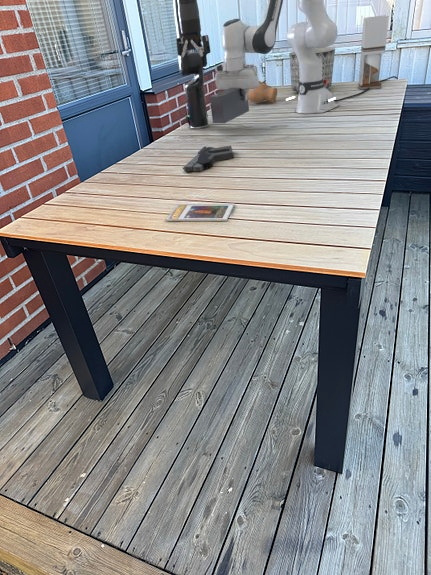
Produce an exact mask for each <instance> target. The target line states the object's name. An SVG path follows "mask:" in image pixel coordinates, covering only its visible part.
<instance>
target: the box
mask: <svg viewBox="0 0 431 575" xmlns="http://www.w3.org/2000/svg"><path fill="white" fill-rule="evenodd" d="M245 93H246V92H244V89H241V88H229V89H227V90H222V91H219V92H217V93H215V94H212V95H209V102H210V110H211V120H212V124H227V123H228V122H230V121H232V120H234V119H236V118H238V117H240V116H242V115H244V114H247V113H249V112H250V106H249V100H243V96H244V95H245Z"/></svg>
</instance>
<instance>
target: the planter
mask: <svg viewBox="0 0 431 575" xmlns="http://www.w3.org/2000/svg"><path fill="white" fill-rule="evenodd" d="M314 52H315V54H316V56H317V57H318V58H320V59H321V61H322V63H323V68H322V79H323V80H324V79H328V84H324V85H325V88H326V89H327V90H328V89H329V88H331V87H332V85H333V84H332V82H333V81H332V80H333V73H334V64H335V63H334V62H335V55H336V48H335V47H331V46H328V47H325V48H314ZM288 56H289V69H290V83H291V84H290V86H291V90H292V91H294V92H298V93H299V89H298V84H299V62H298V59H297V56H296V53H295V52H294V50H293V51H290V52H289V54H288Z"/></svg>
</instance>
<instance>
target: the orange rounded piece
mask: <svg viewBox="0 0 431 575" xmlns="http://www.w3.org/2000/svg"><path fill="white" fill-rule="evenodd" d="M258 81H259V86H258V87H257V88H256V89H250V91H249V94H248V102H251V103H253V104H261V103H264V102H265V101H268V102H269V103H275V102H276V99H277V96H278V88H277V87H272V86H270V85H268V84H267V82H266V81H267V80H266V79H265V80H263V81H260V80H258Z"/></svg>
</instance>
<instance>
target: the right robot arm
mask: <svg viewBox="0 0 431 575" xmlns="http://www.w3.org/2000/svg"><path fill="white" fill-rule="evenodd" d="M283 4H284V0H267V4H266V9H265V13H264V16H263V21H262V22H261V23H260V24H259V25H249V24H246V23H244V22H243V21H242V20H241V18H233V19H229V20H227V21H226V22H224V23H223V26H222V31H221V32H222V33H221V36H222V38H221V39H222V48H223V51H224V55H223V62H221V63H219V64H217V65H216V66H215V67H214V70H215V74H214V79H215V80H214V82H215V87H216V89H217V90H219V91H221V90H222V91H224V90H227V89H229V88H241V89H244V92H246V93H245V95H244V96H243V100H248V94H249V91H250V89H256V88H257V87H258V86H259V81H260V80H259V75H258V67H257V66H256V65H255V64H253V63H250V64H247V63H246V54H261V55H267V54H269V53H271V51H272V50H273V49H274V47H275V45H276V40H277V30H278V25H279V21H280V16H281V12H282V8H283ZM297 8H298V10H299V11H300V12H301V13H303V14H304V15H305V17H306V19H307V21H300V22H297V23H295V24H292V25H291V26H289V29H288V30H287V33H286V41H287V44H288V46H289V47H290V48H291V49H292V50H293V51H294V52H295V53H296V56H297V59H298V62H299V84H298V89H299V92H298V95H297V105H296V110H295V112H296V113H298V114H304V115H305V114H306V115H307V114H321V113H322V114H323V113H326V112H328V111H331V110H333V109H335V108H337V107H339V106H340V105H339V104H338V103H337V102H340V101H343V100H346V99H347V100H348V99H350V98H354V97H357V96H360V95H362V94H364V93H365V92H367V91H369V90H371V89H370V88H368V89H364V90H362V91H361V92H358V93H356V94H352V95H349V96H346V97H343V98H339V99H336V97H335V95H334V93H332V92H331V91H330V90H328V88H327V89H326V88H325V85H324V84H328V79H324V80H323V79H322V68H323V63H322V61H321V59H320V58H318V57H317V56H316V54H315V52H314V48H325V47H331V46H333V45H334V44H335V43H336V40H337V37H338V34H339V33H338V27H337V24H336V23H335V22H334V21H333V20H332V19H331V17H330V16H329V15H328V12H327V10H326V6H325V3H324V0H297ZM390 79H396V80H398V77H397V76H395V75H392V76H390V77H387V78H383V79H381V80H379V82H380V83H382V82H385V81H388V80H390ZM295 98H296V96H295V95H294V96H290V97H288V98H286V99H285V101H289V100H293V99H295ZM248 101H249V100H248Z"/></svg>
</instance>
